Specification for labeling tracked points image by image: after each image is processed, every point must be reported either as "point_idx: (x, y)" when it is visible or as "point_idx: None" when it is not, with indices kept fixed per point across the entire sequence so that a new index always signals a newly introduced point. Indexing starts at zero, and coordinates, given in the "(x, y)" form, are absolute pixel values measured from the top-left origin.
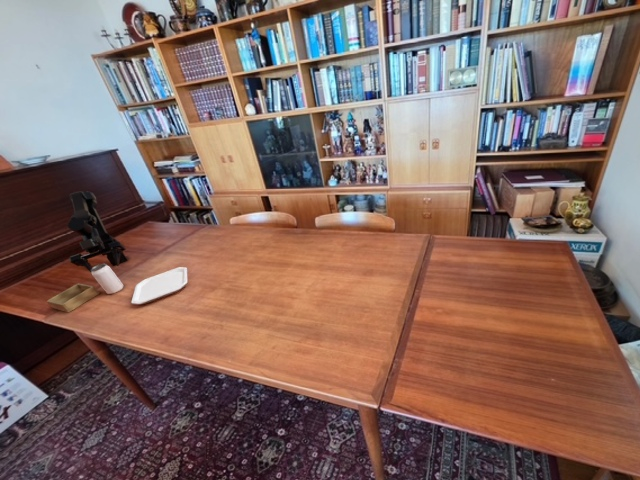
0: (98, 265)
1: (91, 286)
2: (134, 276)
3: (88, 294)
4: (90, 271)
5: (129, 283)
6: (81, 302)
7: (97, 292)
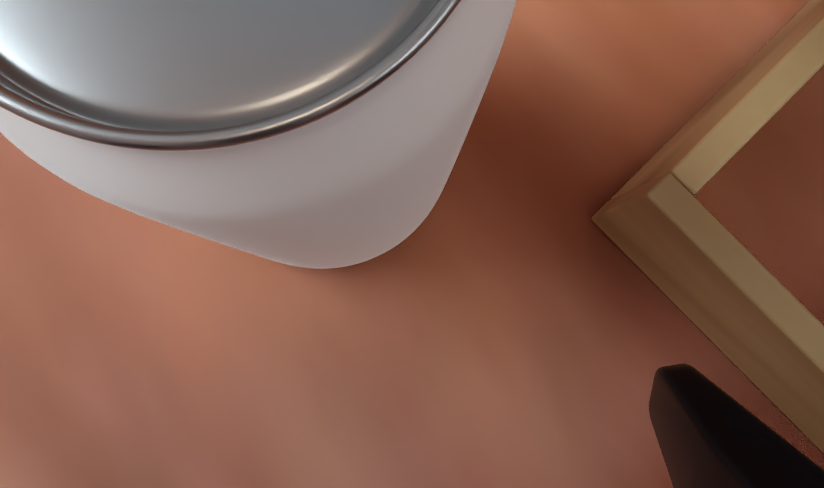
0: (256, 116)
1: (697, 214)
2: (80, 472)
3: (720, 106)
4: (747, 421)
5: (128, 229)
6: (794, 21)
7: (612, 199)
